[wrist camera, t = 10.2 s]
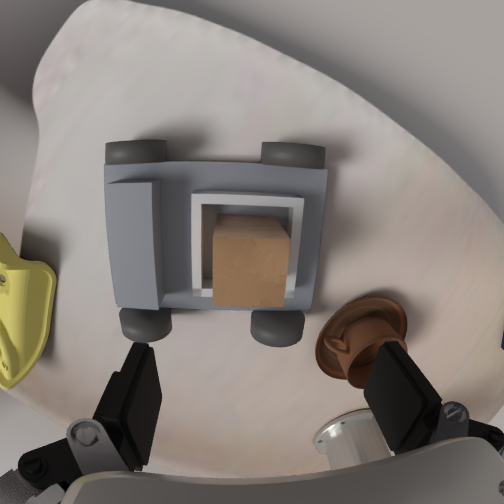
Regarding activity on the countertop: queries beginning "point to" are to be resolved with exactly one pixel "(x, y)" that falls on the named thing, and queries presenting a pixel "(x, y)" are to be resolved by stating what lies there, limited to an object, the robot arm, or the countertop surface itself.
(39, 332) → the plastic component
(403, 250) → the countertop surface
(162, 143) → the chassis
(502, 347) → the protein box
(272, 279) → the wooden block
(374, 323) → the cup and saucer
